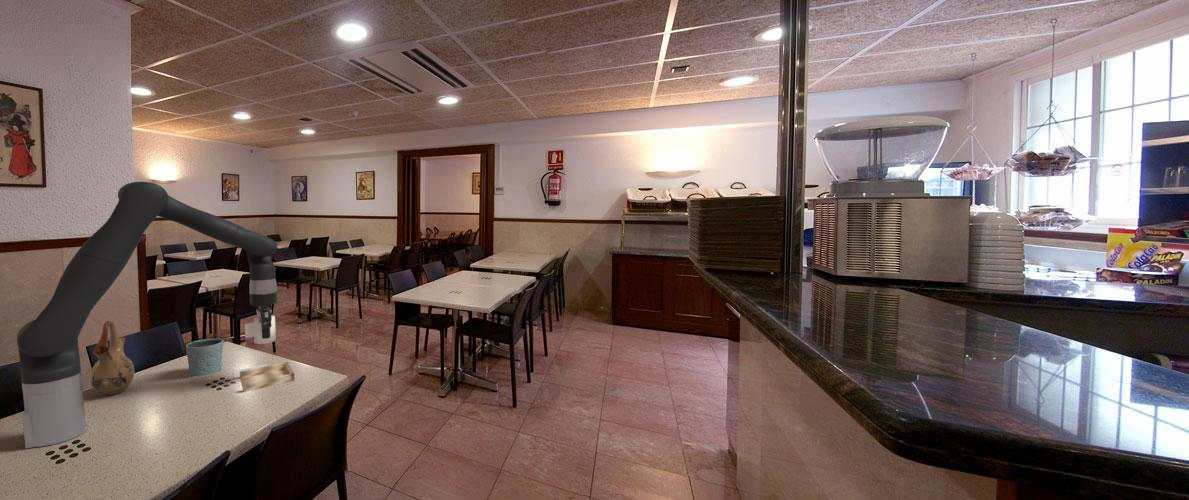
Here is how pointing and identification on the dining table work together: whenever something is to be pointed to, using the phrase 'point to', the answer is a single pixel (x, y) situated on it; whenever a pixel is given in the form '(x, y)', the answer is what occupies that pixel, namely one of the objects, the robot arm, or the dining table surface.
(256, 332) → the cream jug
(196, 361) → the teal plant pot
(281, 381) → the beech holder
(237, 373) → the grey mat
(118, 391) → the ceramic vessel
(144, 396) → the dining table surface
